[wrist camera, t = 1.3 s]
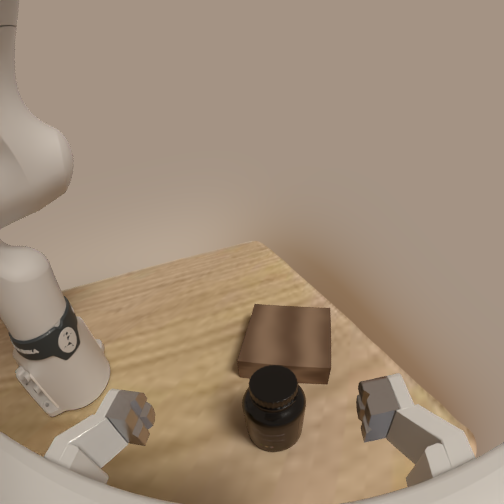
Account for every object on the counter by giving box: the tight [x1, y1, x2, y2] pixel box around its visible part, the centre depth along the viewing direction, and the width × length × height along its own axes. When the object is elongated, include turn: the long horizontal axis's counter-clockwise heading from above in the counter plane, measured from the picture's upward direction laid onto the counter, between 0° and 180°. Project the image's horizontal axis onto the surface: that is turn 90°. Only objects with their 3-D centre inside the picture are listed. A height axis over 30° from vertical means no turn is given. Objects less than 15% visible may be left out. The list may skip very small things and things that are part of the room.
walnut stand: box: [237, 304, 331, 384], centre depth 42 cm, size 13×13×4 cm
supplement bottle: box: [242, 365, 306, 452], centre depth 28 cm, size 7×7×12 cm
